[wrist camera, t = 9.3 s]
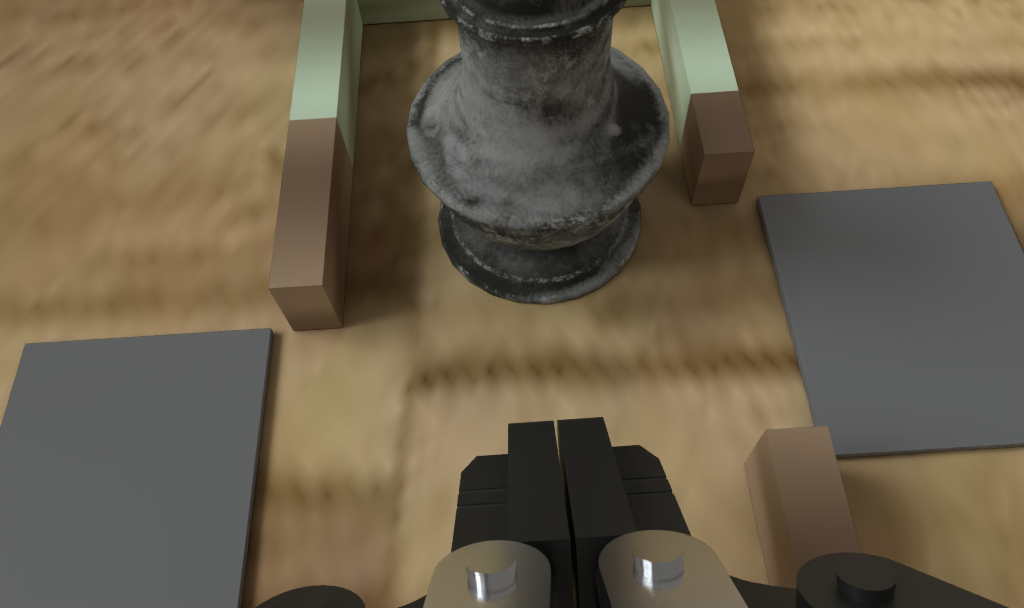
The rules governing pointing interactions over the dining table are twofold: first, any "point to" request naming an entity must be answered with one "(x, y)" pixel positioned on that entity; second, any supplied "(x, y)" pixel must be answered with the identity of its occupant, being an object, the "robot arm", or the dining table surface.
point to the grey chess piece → (538, 146)
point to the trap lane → (711, 180)
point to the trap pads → (245, 366)
